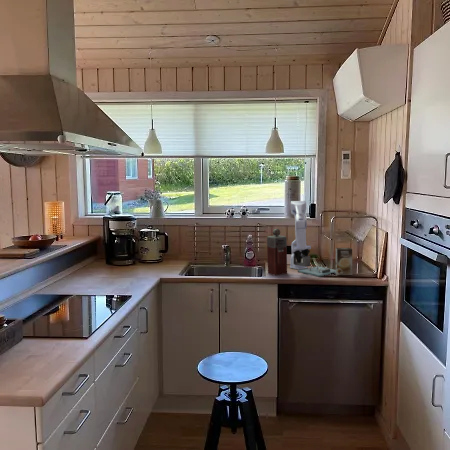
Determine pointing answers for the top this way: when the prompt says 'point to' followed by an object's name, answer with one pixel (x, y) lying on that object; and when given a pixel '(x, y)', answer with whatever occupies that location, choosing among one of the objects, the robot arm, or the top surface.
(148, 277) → the top surface
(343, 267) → the coffee box
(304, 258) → the drive
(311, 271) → the teal square peg board
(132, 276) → the top surface
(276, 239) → the brown tall bottle
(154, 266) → the top surface
